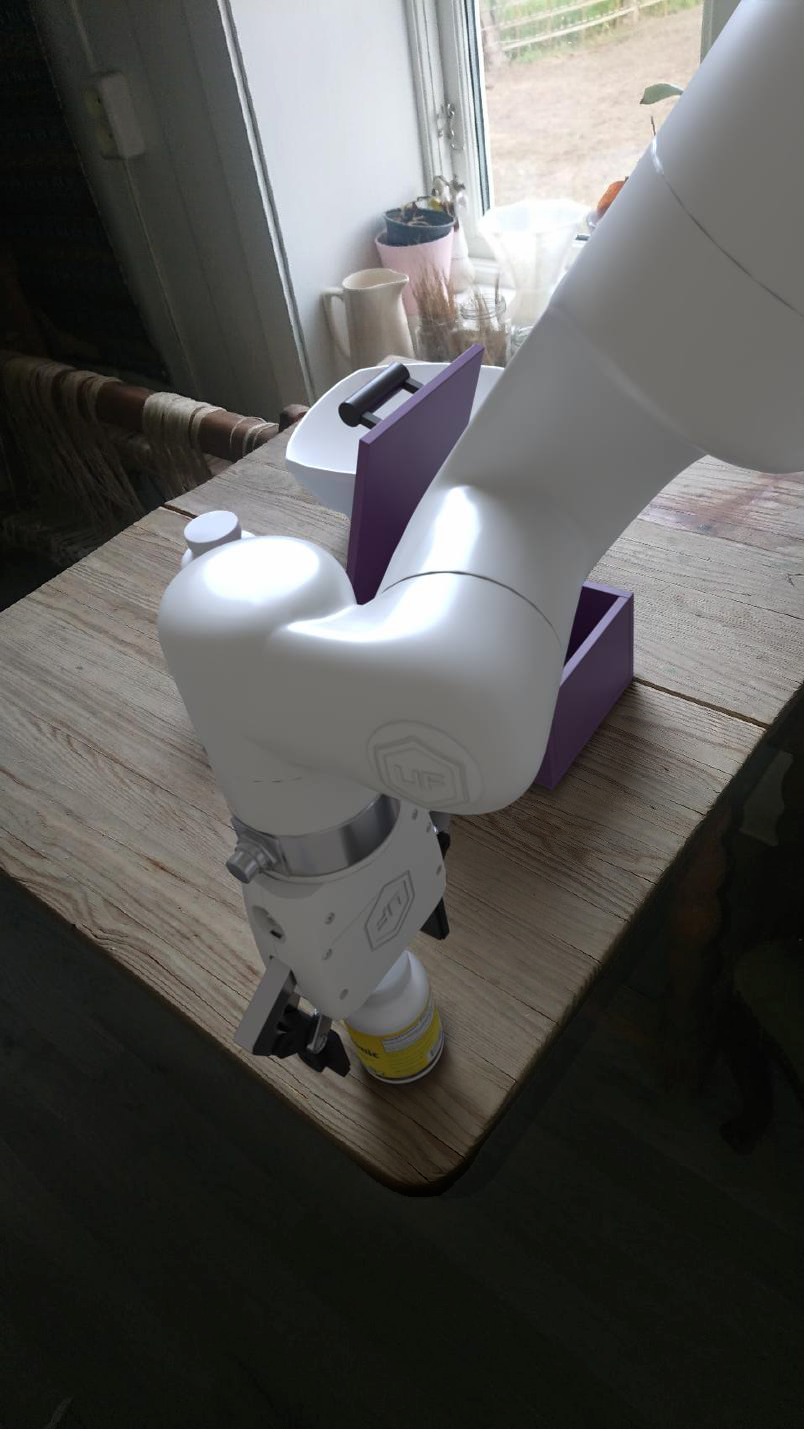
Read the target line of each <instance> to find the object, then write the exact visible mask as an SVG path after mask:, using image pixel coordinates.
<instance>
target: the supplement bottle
mask: <svg viewBox="0 0 804 1429" xmlns="http://www.w3.org/2000/svg"><path fill="white" fill-rule="evenodd" d="M342 1020H343V1022H344V1025H345V1028H346V1031H347V1033H348V1035H349V1037H350V1039H351V1042H352V1044H353V1046H354V1048H355V1051H356V1053H357V1055H358V1056H357V1057H358V1058H359V1060H360V1061H361V1064H362V1065H363V1067H364V1068H365V1069H366V1071H368V1073H369V1074H371V1075H372V1076H373V1077H374V1078H376V1079H378V1080H380V1081H382V1082H384V1083H388V1084H396V1085H397V1084H406V1083H411V1082H414V1081H416V1080H418V1079H420V1078H422V1077H424V1076H425V1075H426V1074H428V1073H429V1072H430V1071H431V1070H432V1069H433V1068H434V1066H436V1064H437V1063H438V1061H439V1059H440V1057H441V1054H442V1052H443V1048H444V1042H445V1036H444V1035H445V1034H444V1029H443V1025H442V1020H441V1018H440V1014H439V1011H438V1008H437V1004H436V1001H435V996H434V994H433V990H432V987H431V983H430V980H429V976H428V974H427V971H426V969H425V967H424V965H423V963H422V962H421V960H420V959H419V958H418V957H417V956H416V955H415V954H414V953H413V952H411V951H409V950H408V949H407V948H406V949H405V950H404V952H403V953H402V954H401V956H400V957H399V958H398V960H397V961H396V962H395V964H394V965H393V966H392V968H391V969H390V970H389V972H388V973H387V974H386V976H385V977H384V978H383V980H382V981H381V982H380V984H379V985H378V986H377V987H376V989H375V990H374V991H373V993H372V994H371V995H370V996H369V998H368V999H367V1000H366V1001H365V1003H364V1004H363V1005H362V1006H361V1007H360V1008H359V1009H358V1010H357V1011H356V1012H354V1013H353V1014H352V1015H350V1016H349V1017H347V1018H345V1019H342Z"/></svg>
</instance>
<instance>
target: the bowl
mask: <svg viewBox="0 0 804 1429" xmlns="http://www.w3.org/2000/svg"><path fill="white" fill-rule="evenodd" d="M451 363H452V362H413V363H412V362H411V363H402V364H403V365H404V366H405V367H406V368H407V369H408V371H409V373H410V377H411V378H413V379H414V380H416V381H418V382H420V383H422V384H424V385H425V384H427V383H428V382H429V381H430V380H431V379H433V378H434V377H435V376H436V375H437V374H439V373H440V372H441V371H442V370H444V369H445V368H446V367H447V366H448V365H450V364H451ZM389 365H390V364H385V365H378V366H372V367H365V368H360V369H358V370H356V371H354V372H352V373H351V374H349V375H347V376H346V377H344V378H343V379H340V381H338V382H337V383H336V384H334V385H333V386H332V387H331V388H330V389H329V390H328V391H327V392H325V393H324V394H323V395H322V396H321V397H320V398H319V399H318V400H317V401H316V402H315V403H314V404H313V405H312V406H311V407H310V408H309V409H308V410H307V412H305V414H304V416H303V417H302V419H300V421H299V423H298V424H297V426H296V427H295V429H294V431H293V433H292V434H291V436H290V438H289V440H288V442H287V445H286V449H285V450H286V451H285V457H284V466H285V468H286V470H287V471H288V472H289V473H290V474H291V475H293V477H294V478H295V479H297V481H298V482H299V483H300V484H301V485H302V486H304V488H305V489H306V490H307V491H308V492H309V493H310V494H311V495H312V496H313V497H314V498H315V499H316V500H317V501H318V502H319V503H320V504H321V505H322V506H324V507H325V508H327V509H329V510H332V511H335V512H337V513H341V514H344V515H345V516H346V517H347V519H348V520H349V521H351V515H352V506H353V496H354V486H355V476H356V466H357V457H358V447H359V439H360V438H361V437H363V436H364V435H365V434H366V433H367V432H369V431H370V429H368V428H366V427H365V426H363V425H361V424H359V425H358V426H357V427H349V426H348V425H346V424H345V423H344V422H343V421H342V420H341V418H340V416H339V412H338V408H339V405H340V404H341V403H342V402H343V401H345V400H346V399H347V398H348V397H350V396H351V395H352V394H354V393H355V392H356V391H357V390H359V389H360V388H361V387H362V386H364V385H365V384H366V383H368V382H369V381H370V380H371V379H373V378H374V377H375V376H377V375H378V374H379V373H380V372H382V371H383V370H384V369H385V368H387V367H388V366H389ZM504 368H505V367H501V366H495V365H494V366H493V365H484V364H481V368H480V373H479V378H478V382H477V387H476V392H475V396H474V401H473V406H472V410H471V415H470V420H469V422H470V421H471V419H472V418H473V416H474V415H475V413H476V412H477V410H478V408H479V407H480V405H481V404H482V402H483V400H484V399H485V397H486V396H487V394H488V393H489V391H490V390H491V388H492V386H493V385H494V383H495V382H496V380H497V379H498V377H499V376H500V374H501V373H502V371H503V370H504ZM412 395H413V394H411V393H409V392H408V391H406V390H404V389H402V390H401V391H400V392H399V393H397V394H396V395H395V396H394V397H393V398H391V399H390V400H389V401H388V402H386V403H385V404H384V405H383V406H382V407H380V408H379V409H378V410H377V411H375V412H374V413H373V415H375V416H377V417H379V418H381V419H382V420H383V419H384V418H386V417H387V416H388V415H389V414H390V413H392V412H393V411H394V410H395V409H396V408H398V407H399V406H400V405H401V404H402V403H404V402H405V401H406V400H407V399H408V398H410V397H411V396H412Z"/></svg>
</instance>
